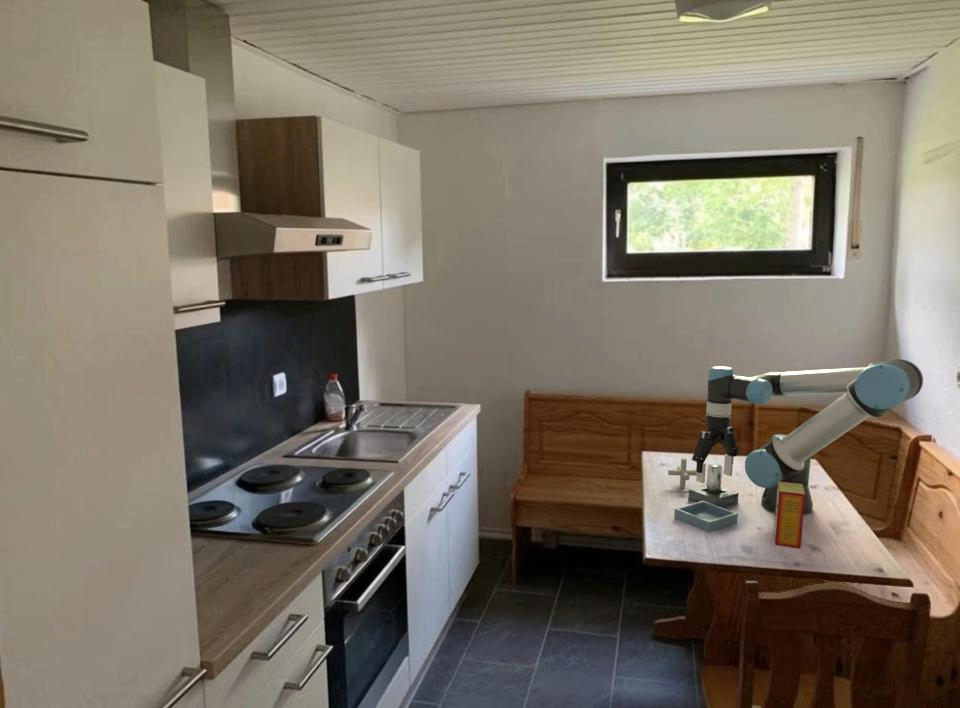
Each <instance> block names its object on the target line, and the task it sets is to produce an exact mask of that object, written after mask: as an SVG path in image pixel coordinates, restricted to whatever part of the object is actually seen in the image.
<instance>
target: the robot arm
mask: <svg viewBox="0 0 960 708" xmlns="http://www.w3.org/2000/svg"><path fill="white" fill-rule="evenodd" d="M923 385H924V377H923V373H922V371H921V370H920V368H919V367H918V366H917V365H916V364H915V363H914V362H912V361H909V360H906V359H899V358H896V359H890V360H886V361H882V362H881V361H880V362H872V363H869V364H868V365H867V366H862V367H861V366H860V367H859V366H858V367H845V368H830V369H811V370H810V369H809V370H799V371H798V370H795V371H794V370H793V371H784V372H779V371H768V372H765V373H763V374H758V375H754V376H740V375H736V374H735V372H734V368H732V367H729V366H724V365H721V366H720V365H717V366H711V367H710V368H709V370H708V377H707V394H706V395H707V397H706V415H705V426H706V427H707V431H704V430H700V432H699V433H700V434H699V439H698V441H697V444H696V446H695V449H694V451H693V452H694V453H693V454H692V457H691V461H692V462H696V469H695V470H696V472H697V476H696V481H695V482H698V483H700V484H705V483H706V469H707V466H706V465H707V463H706V462H705V461H706V460H707V458H708V456H709V454H710V452H711V450H712V449H713V447H715V446H716V445H718V444H721V445H722V448H723V449H724V451H725V454H724V462H723V463H724V464H723V475H726V476H729V477H733V467H734V457H735V458H736V457H737V456H738V453H739V452H740V451H739V447H738V444H737V440H736V437H735V427H732V426H731V416H730V415H732V405H733V404H732V400H736V401H742V402H747V403H751V404H758V405H759V404H761V405H766V404H768V403H769V401H770V400H771V399H772V397H786V396H815V395H816V396H819V395H841V396H840V397H838V398H837V399H835V400H834V401H833V402H832V403H830V404H829V405H827V406H826V407H825V408H823V409H822V410H820V411H818V413H816V414H815V415H813V416H812V417H810V418H809V419H808V420H807V421H805V422H804V423H802V424H801V425H800V426H797V428H795V429H794V430H793V431H791V432H789V433H788V434H774V435H772V437H771V440H769V441H768V442H767V443H766V444H764V445H763V446H761V447H759V448H757V449H754V450H752V451H751V452H750V453H749V454H747V456H746V458H745V459H744V460H745V461H744V470H745V474H746V475H747V477H748V479H749V481H751V482H752V483H753V484H754V485H755V486H757V487H760V488H762V489H764V491H763V492H762V496H761V501H760V502H761V506H763V508H765V509H767V510H769V511H771V512H775V513H776V500H777V487H778V481H781V482H790V483H798V484H803V488H804V492H805V501H804V513H803V516H805V515H808V514H811V513H812V512H813V506H814V504H813V503H814V501H813V499H812V496H811V491H810V486H809V481H810V470H811V461H812V459H811V458H812V456H814V455H816V454H817V453H818V452H820V451H821V450H823V449H824V448H826V447H827V446H829V445H830V444H832V443H833V442H834V441H836V440H837V439H839V438H840V437H842V436H843V435H845V434H846V433H847V432H849V431H850V430H852V429H853V428H855V427H857V426H858V425H860V424H861V423H863V422H864V421H866V420H867V419H868V418H872V419H873V418H874V419H878V418H881V417H882V416H883V415H885V414H887V413H888V412H889V411H891V410H892V409H894V408H895V407H897V406H898V405H900V404H901V403H903V402H904V403H905V402H906V401H909V400H911V399H913V398H914V397H916V396H917V395H918V394H919V393H920V391H921V390H922V387H923Z"/></svg>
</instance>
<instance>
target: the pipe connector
mask: <svg viewBox="0 0 960 708" xmlns="http://www.w3.org/2000/svg"><path fill="white" fill-rule="evenodd" d="M680 459H681V460H680V465H678V466H677V468H676V469H668V470H667V471H668V472H667V475H668V476H680V477H679V488H682V489H685V488H686V483H687V481H689V480H690V476H695V477H697V472H696V469H694V470H690V469H687V463H688V462H687V460H688V459H687V458H685V457H682V458H680Z"/></svg>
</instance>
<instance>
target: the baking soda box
mask: <svg viewBox="0 0 960 708" xmlns="http://www.w3.org/2000/svg"><path fill="white" fill-rule="evenodd" d="M804 501H805V492H804V488H803V484H798V483H790V482H781V481H778V487H777V500H776V512H775V514H774V515H775V516H774V526H773V527H774V529H773V539H774V546H779V547H785V548H786V547H787V548H791V549H798V550H799V549H801V548H802V546H801V545H802V533H803V522H804V515H803V513H804Z"/></svg>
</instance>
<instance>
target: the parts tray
mask: <svg viewBox="0 0 960 708" xmlns="http://www.w3.org/2000/svg"><path fill="white" fill-rule="evenodd" d="M673 515H674V517H673V519H674V520H677V521H679V522H681V523H684V524H686V525H688V526H691V527H694V528H696V529H698V530H701V531H703V532H705V533H709V534H710V533H713V532H716V531H719V530H722V528H723V529H725V527H726V528H728V527H731V526H735V525H737V524H738V521H739V519H738V518H739V513H737V512H735V511H733V510H729V509H727V508H725V507H723V508H722V507H719V506H716V505H714V504H711V503H708V502H705V501H700V502H693V503H689V504H685V505H683V506H678V507H676V508H674V514H673Z"/></svg>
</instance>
